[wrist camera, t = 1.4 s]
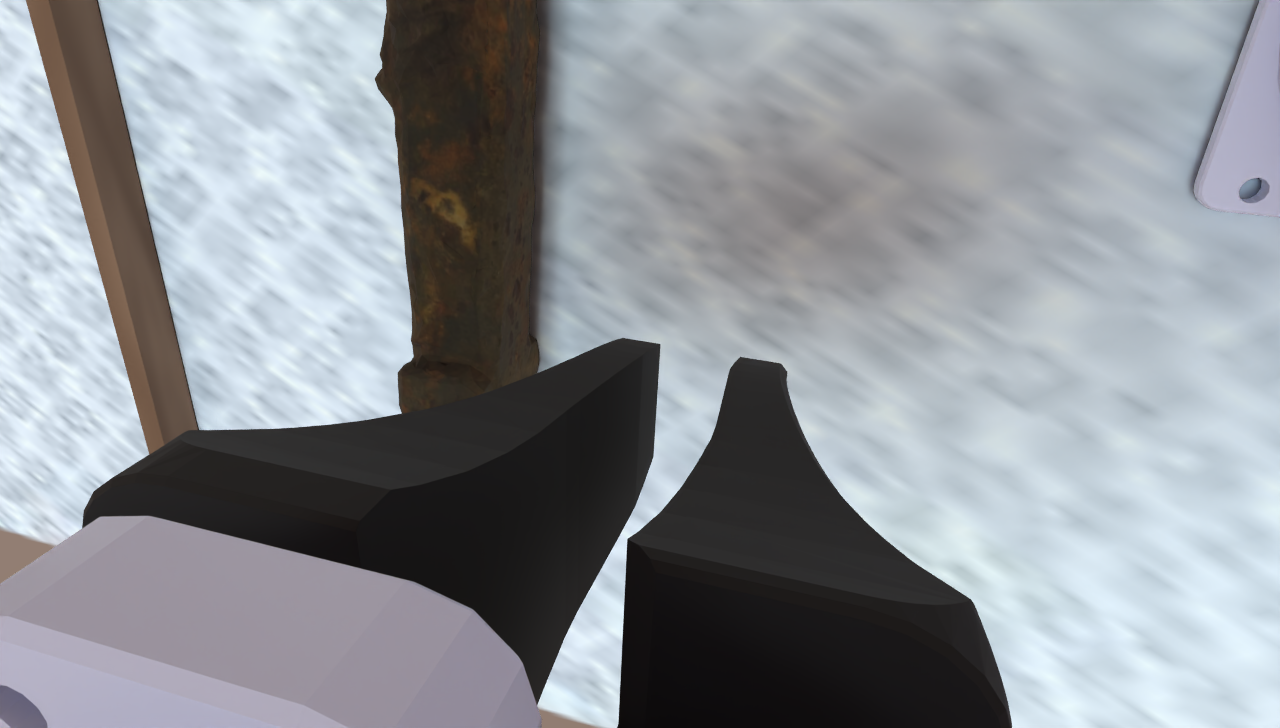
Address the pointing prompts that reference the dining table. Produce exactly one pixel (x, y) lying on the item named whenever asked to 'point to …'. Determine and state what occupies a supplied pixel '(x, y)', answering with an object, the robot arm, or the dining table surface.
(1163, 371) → the dining table surface
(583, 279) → the dining table surface
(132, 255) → the tool bay
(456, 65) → the hand tool
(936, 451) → the dining table surface
